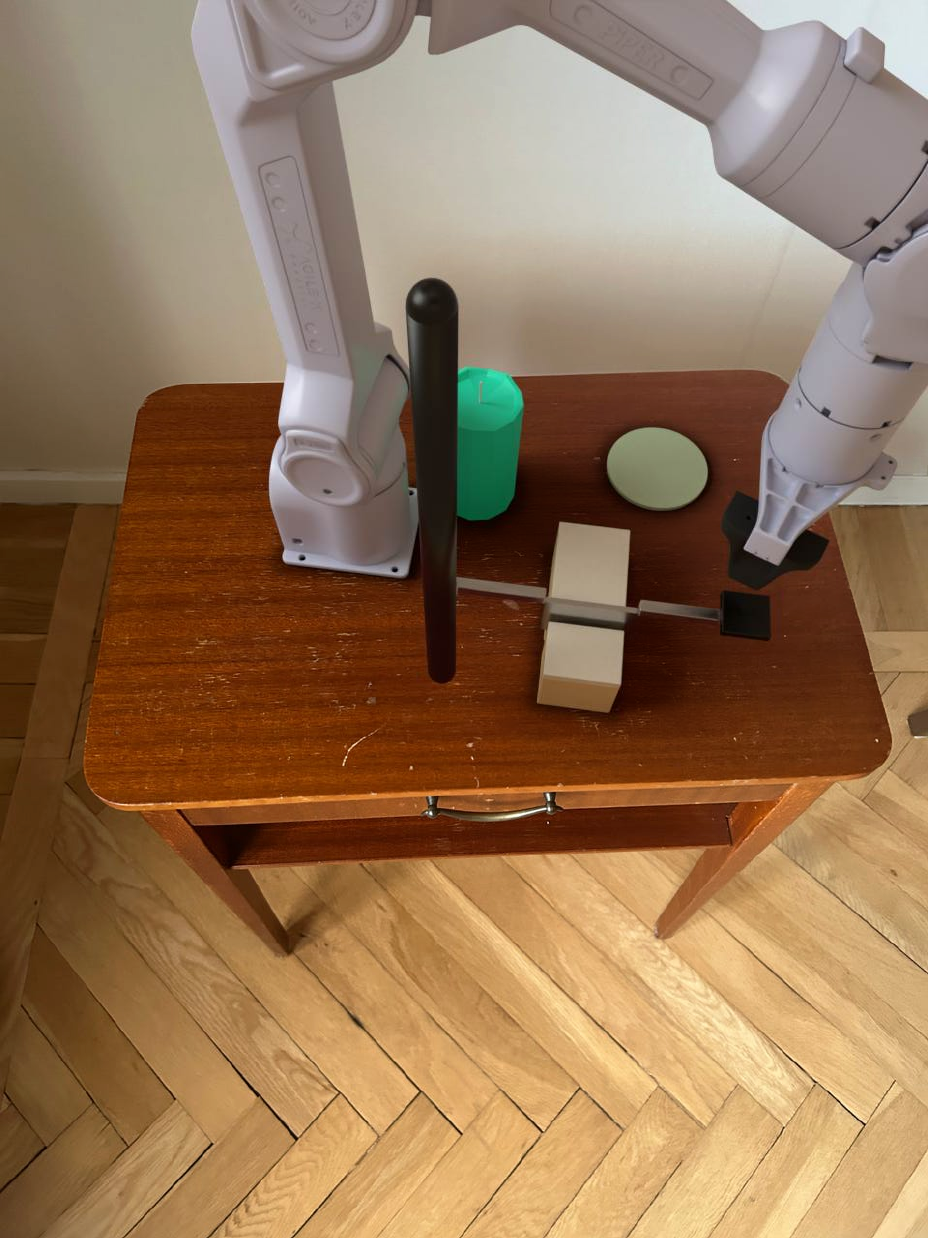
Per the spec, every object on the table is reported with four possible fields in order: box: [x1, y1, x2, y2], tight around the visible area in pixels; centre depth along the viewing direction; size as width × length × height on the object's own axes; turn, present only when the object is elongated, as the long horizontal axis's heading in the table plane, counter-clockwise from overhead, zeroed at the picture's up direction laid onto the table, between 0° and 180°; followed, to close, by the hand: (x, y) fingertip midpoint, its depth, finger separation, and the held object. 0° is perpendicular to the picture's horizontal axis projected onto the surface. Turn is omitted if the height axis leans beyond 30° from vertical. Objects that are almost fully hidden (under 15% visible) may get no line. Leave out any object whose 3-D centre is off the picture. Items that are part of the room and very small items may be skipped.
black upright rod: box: [405, 277, 772, 685], centre depth 44 cm, size 21×7×33 cm, turn 82°
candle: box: [457, 366, 525, 521], centre depth 64 cm, size 6×6×12 cm
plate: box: [606, 426, 709, 512], centre depth 70 cm, size 8×8×1 cm
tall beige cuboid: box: [543, 521, 631, 641], centre depth 62 cm, size 5×7×5 cm
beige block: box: [536, 622, 625, 714], centre depth 59 cm, size 5×4×5 cm
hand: (768, 535), depth 55 cm, fingers open, 7 cm apart
